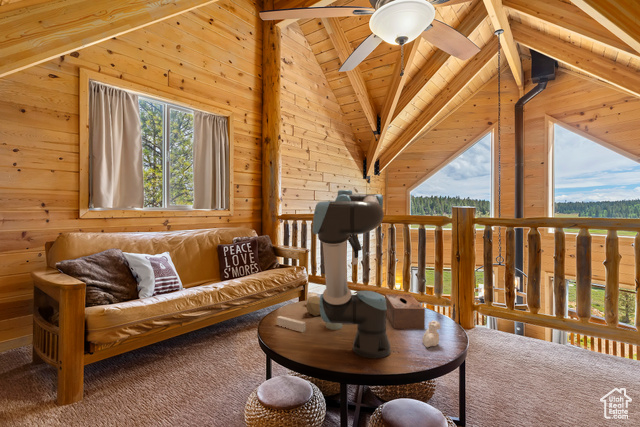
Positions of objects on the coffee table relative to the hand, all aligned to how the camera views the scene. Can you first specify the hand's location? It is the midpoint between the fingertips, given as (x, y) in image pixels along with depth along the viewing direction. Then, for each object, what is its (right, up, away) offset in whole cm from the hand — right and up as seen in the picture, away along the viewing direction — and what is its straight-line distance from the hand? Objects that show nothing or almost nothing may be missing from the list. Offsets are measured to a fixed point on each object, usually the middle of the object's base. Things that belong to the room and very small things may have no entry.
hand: (345, 261), depth 164 cm
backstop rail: (-27, -31, -9) cm, 42 cm away
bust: (+34, -31, -28) cm, 54 cm away
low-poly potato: (-14, -31, +11) cm, 35 cm away
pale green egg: (-6, -31, -7) cm, 32 cm away
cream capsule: (-17, -30, +27) cm, 44 cm away
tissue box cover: (+31, -31, +4) cm, 44 cm away
